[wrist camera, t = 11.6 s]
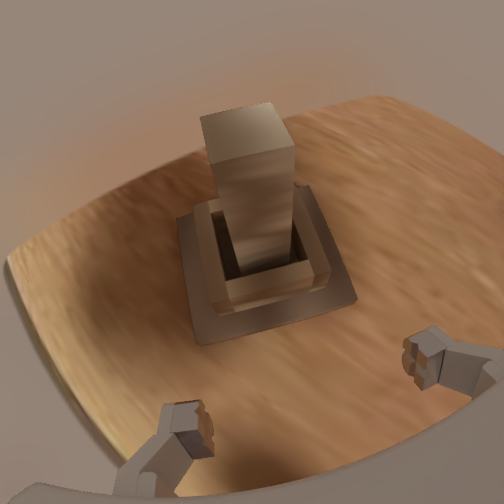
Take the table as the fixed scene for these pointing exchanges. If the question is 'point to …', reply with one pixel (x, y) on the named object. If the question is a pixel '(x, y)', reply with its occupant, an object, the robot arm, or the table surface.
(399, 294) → the table surface
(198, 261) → the wooden socket base
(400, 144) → the table surface
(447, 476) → the robot arm
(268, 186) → the beige rectangular block
